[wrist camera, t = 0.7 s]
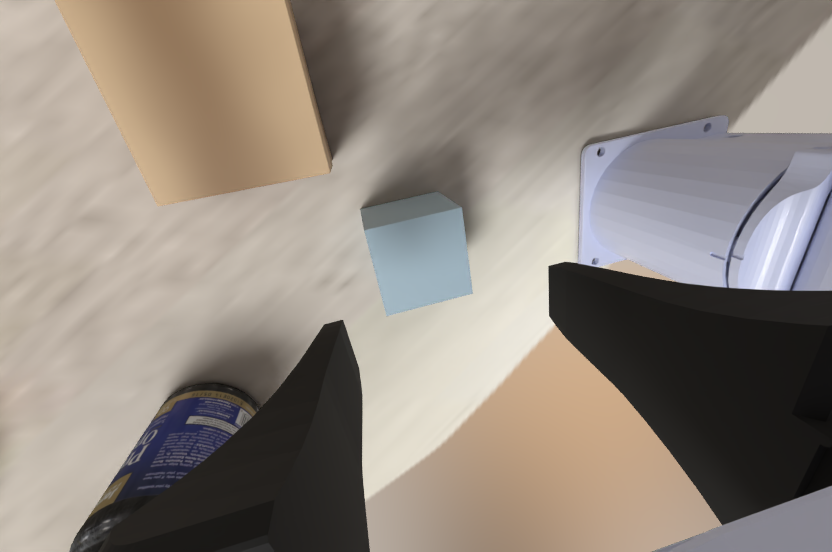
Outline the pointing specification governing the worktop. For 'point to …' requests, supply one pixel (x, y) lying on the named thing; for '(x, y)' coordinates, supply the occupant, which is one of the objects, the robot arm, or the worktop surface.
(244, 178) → the slab upper
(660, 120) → the worktop surface
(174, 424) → the pill bottle
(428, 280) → the cube
